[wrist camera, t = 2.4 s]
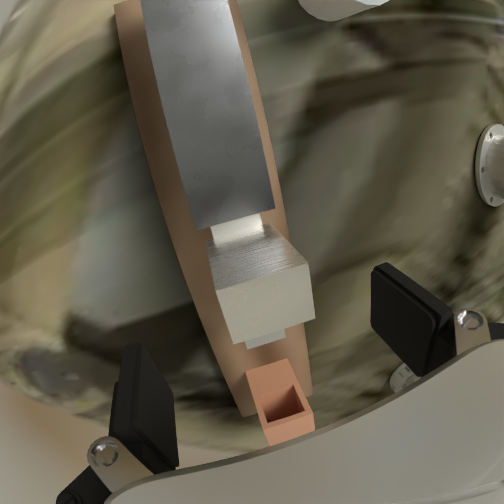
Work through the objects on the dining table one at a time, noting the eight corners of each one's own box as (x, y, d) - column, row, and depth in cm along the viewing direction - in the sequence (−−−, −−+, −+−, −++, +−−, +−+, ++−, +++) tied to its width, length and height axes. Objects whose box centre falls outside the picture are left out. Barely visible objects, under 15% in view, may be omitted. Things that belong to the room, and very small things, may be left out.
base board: (227, -15, 18) (230, -22, 17) (309, 387, 38) (313, 395, 37) (117, 11, 17) (113, 5, 16) (240, 409, 37) (242, 417, 35)
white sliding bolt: (202, -24, 13) (218, -101, 5) (280, 313, 24) (322, 392, 16) (145, -12, 13) (128, -86, 5) (234, 327, 24) (259, 414, 16)
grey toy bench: (200, -9, 17) (209, -61, 9) (247, 184, 24) (275, 208, 17) (146, 3, 16) (132, -46, 9) (192, 199, 24) (196, 230, 16)
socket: (287, 358, 33) (313, 413, 25) (294, 393, 35) (316, 443, 28) (245, 371, 32) (262, 429, 24) (257, 404, 35) (274, 457, 27)
